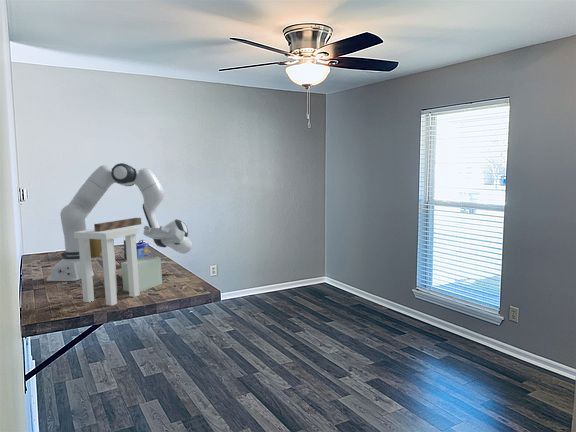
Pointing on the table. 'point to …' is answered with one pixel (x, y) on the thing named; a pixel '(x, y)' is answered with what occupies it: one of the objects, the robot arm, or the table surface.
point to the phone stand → (125, 250)
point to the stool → (108, 262)
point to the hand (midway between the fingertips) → (152, 227)
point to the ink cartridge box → (142, 249)
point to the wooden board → (117, 224)
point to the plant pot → (95, 247)
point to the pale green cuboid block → (144, 273)
